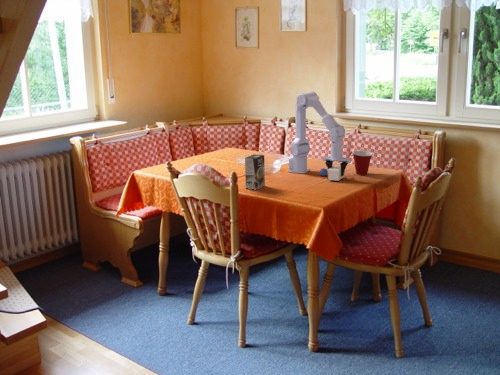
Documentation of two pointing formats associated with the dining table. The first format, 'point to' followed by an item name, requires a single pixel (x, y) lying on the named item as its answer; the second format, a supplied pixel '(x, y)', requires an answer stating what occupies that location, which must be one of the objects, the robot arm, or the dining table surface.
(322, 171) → the ball
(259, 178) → the coffee box
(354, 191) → the dining table surface
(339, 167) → the cream rectangular prism
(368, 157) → the plastic cup
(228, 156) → the dining table surface
